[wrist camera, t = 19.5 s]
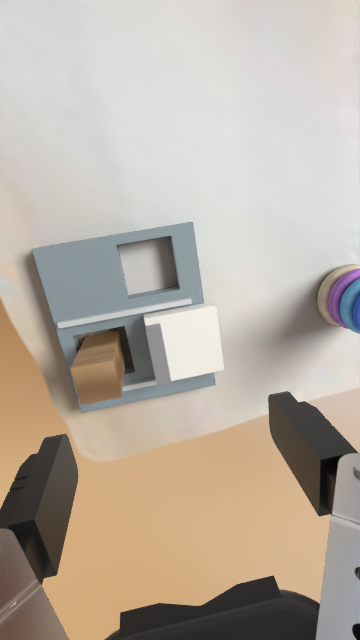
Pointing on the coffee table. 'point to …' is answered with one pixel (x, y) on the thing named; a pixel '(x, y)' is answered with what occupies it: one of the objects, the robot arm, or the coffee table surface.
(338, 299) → the stacking toy
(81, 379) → the walnut post
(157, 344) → the lid
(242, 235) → the coffee table surface
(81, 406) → the puzzle board
